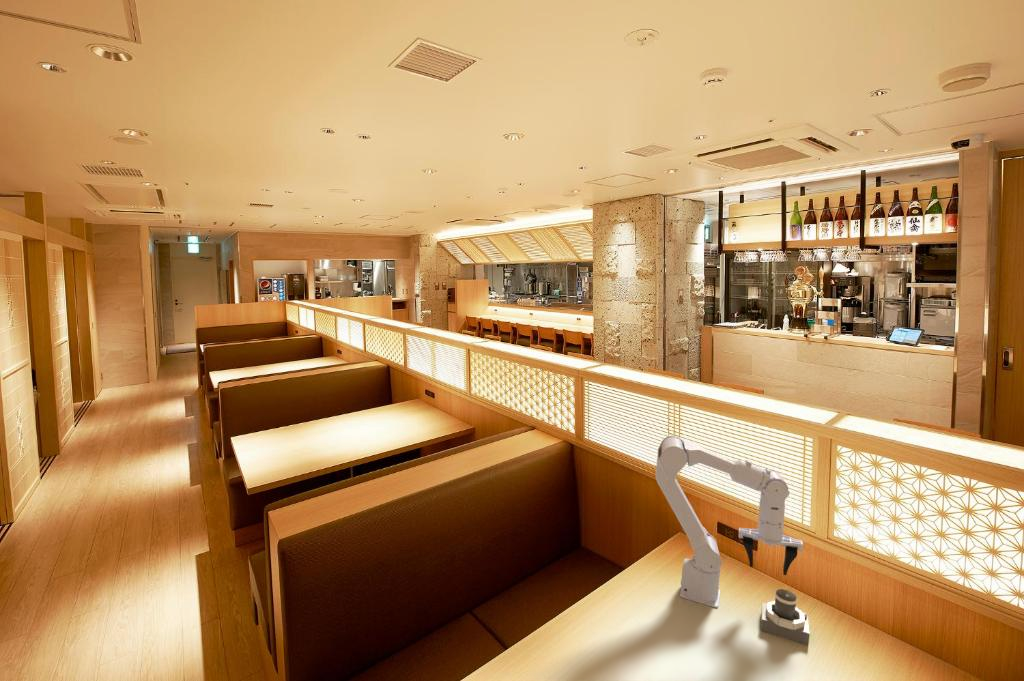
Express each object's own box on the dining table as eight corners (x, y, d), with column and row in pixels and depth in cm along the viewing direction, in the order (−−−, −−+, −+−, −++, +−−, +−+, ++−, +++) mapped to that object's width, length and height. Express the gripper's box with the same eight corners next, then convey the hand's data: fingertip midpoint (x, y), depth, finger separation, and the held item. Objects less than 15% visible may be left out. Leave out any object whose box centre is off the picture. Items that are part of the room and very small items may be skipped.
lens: (768, 612, 122) (771, 590, 121) (783, 609, 123) (786, 587, 123) (783, 625, 118) (786, 602, 117) (799, 622, 119) (801, 599, 118)
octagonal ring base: (760, 631, 120) (762, 614, 119) (761, 612, 127) (762, 596, 126) (808, 646, 115) (810, 629, 115) (806, 625, 122) (808, 608, 122)
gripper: (739, 520, 126) (736, 569, 128) (804, 533, 119) (801, 585, 121) (740, 508, 132) (737, 555, 134) (803, 520, 126) (799, 570, 127)
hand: (767, 568), depth 128 cm, fingers open, 7 cm apart
